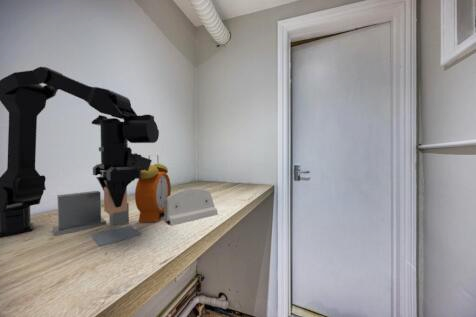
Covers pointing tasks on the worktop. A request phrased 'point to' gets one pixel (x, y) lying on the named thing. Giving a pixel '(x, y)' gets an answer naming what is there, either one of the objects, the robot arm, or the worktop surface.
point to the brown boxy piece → (109, 204)
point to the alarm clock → (152, 192)
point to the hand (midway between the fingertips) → (115, 205)
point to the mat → (115, 235)
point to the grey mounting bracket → (188, 206)
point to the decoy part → (119, 217)
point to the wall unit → (78, 212)
